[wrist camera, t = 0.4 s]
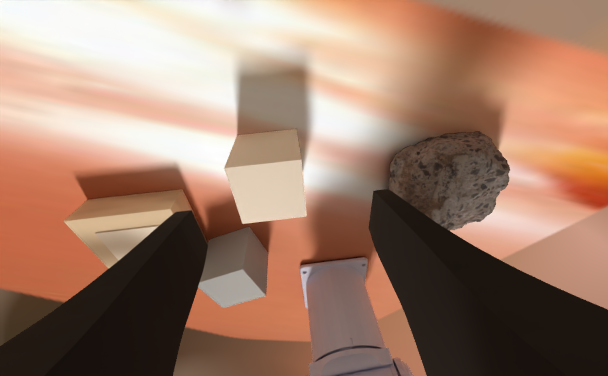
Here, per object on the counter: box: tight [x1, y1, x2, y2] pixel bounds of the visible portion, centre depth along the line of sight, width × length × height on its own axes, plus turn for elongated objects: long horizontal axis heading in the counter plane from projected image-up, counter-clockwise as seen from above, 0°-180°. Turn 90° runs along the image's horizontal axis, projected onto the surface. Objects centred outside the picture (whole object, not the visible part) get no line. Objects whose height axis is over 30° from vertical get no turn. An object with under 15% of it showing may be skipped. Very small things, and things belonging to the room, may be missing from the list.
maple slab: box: [64, 189, 208, 269], centre depth 21 cm, size 8×8×3 cm
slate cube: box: [198, 227, 268, 308], centre depth 22 cm, size 4×4×5 cm
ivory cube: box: [224, 129, 307, 224], centre depth 17 cm, size 4×4×5 cm
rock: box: [389, 132, 510, 231], centre depth 19 cm, size 9×11×4 cm
